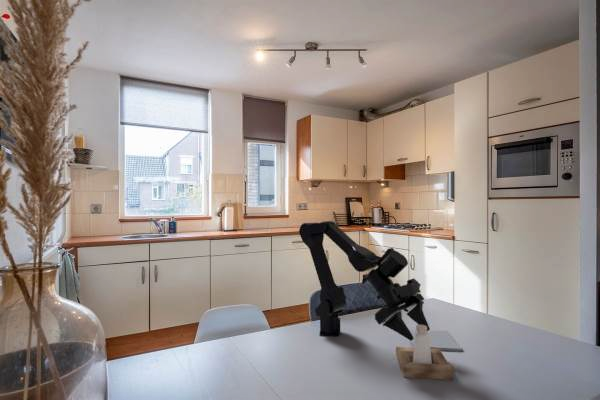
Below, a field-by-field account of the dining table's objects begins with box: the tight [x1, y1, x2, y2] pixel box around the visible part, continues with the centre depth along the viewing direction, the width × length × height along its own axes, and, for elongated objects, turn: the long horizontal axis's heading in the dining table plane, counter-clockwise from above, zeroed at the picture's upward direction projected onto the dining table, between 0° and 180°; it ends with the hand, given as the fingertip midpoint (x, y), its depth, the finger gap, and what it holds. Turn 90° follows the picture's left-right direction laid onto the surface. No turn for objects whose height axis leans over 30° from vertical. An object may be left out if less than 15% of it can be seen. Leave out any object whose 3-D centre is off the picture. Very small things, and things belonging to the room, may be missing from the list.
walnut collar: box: [395, 346, 454, 381], centre depth 88 cm, size 12×12×2 cm
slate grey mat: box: [408, 328, 463, 352], centre depth 105 cm, size 14×14×1 cm
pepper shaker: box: [412, 324, 433, 364], centre depth 88 cm, size 5×5×11 cm
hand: (420, 334), depth 89 cm, fingers open, 9 cm apart
